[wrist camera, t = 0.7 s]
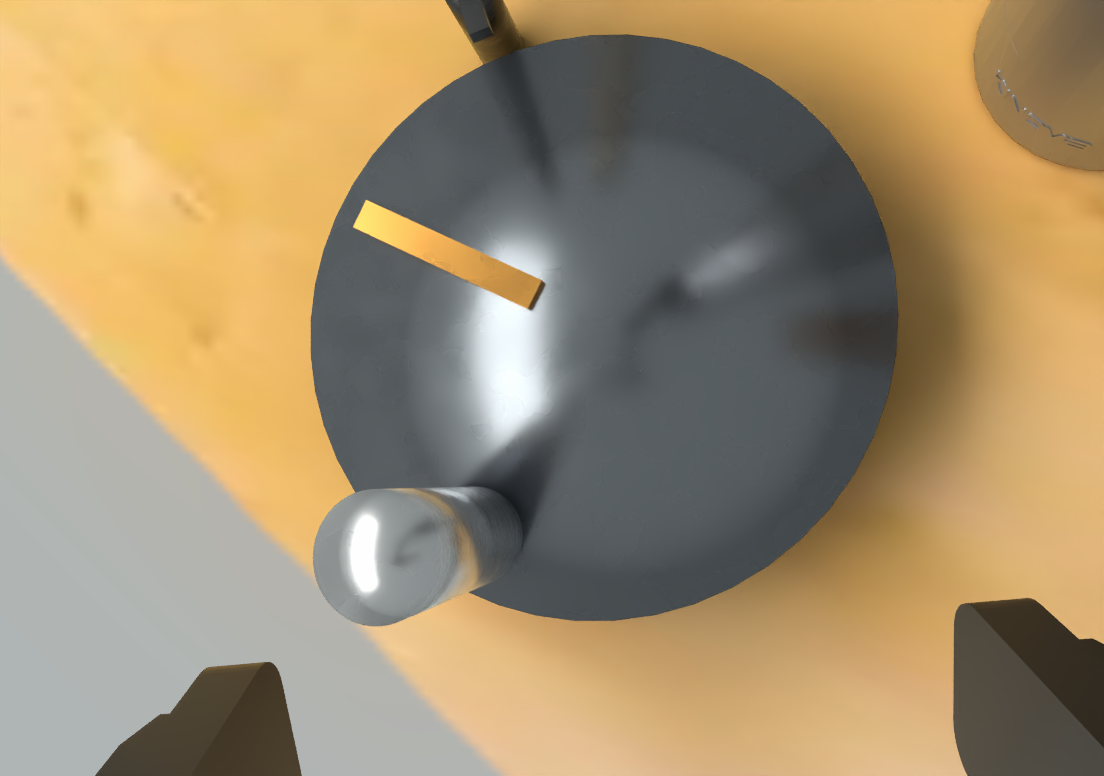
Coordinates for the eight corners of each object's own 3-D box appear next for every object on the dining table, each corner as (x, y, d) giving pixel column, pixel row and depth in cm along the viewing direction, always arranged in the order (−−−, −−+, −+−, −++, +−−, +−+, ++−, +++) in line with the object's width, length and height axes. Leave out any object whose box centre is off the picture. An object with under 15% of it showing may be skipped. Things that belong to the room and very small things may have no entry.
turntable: (599, -53, 34) (542, -279, 24) (1029, 320, 29) (1187, 236, 19) (230, 327, 36) (30, 266, 26) (578, 740, 31) (502, 867, 21)
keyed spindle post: (502, 20, 37) (460, -66, 31) (825, 320, 33) (845, 285, 27) (304, 224, 38) (227, 178, 32) (593, 541, 34) (563, 554, 28)
